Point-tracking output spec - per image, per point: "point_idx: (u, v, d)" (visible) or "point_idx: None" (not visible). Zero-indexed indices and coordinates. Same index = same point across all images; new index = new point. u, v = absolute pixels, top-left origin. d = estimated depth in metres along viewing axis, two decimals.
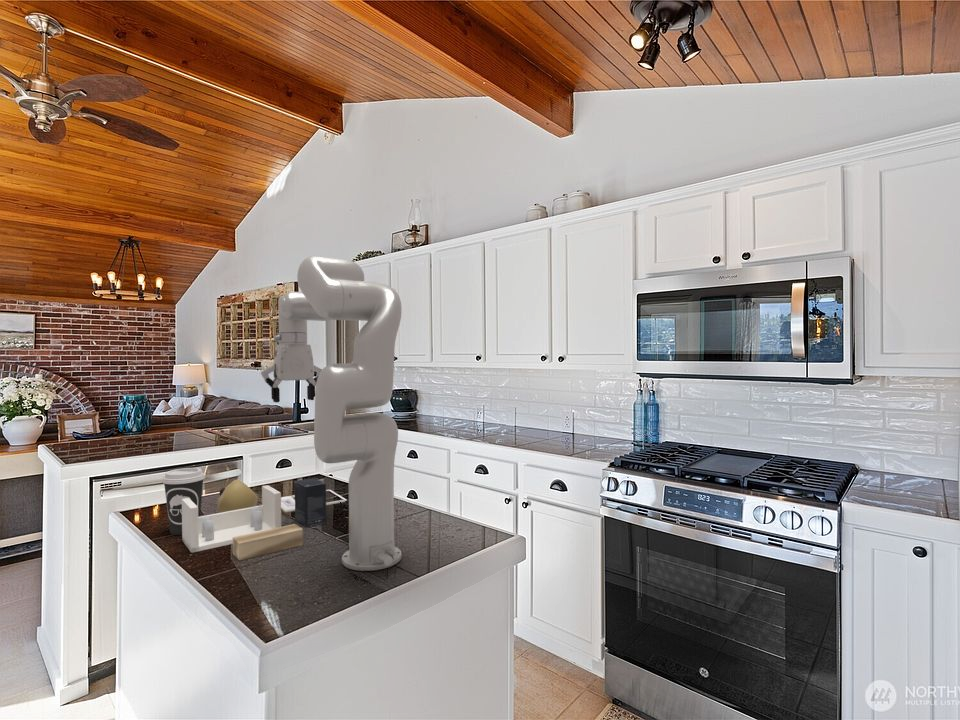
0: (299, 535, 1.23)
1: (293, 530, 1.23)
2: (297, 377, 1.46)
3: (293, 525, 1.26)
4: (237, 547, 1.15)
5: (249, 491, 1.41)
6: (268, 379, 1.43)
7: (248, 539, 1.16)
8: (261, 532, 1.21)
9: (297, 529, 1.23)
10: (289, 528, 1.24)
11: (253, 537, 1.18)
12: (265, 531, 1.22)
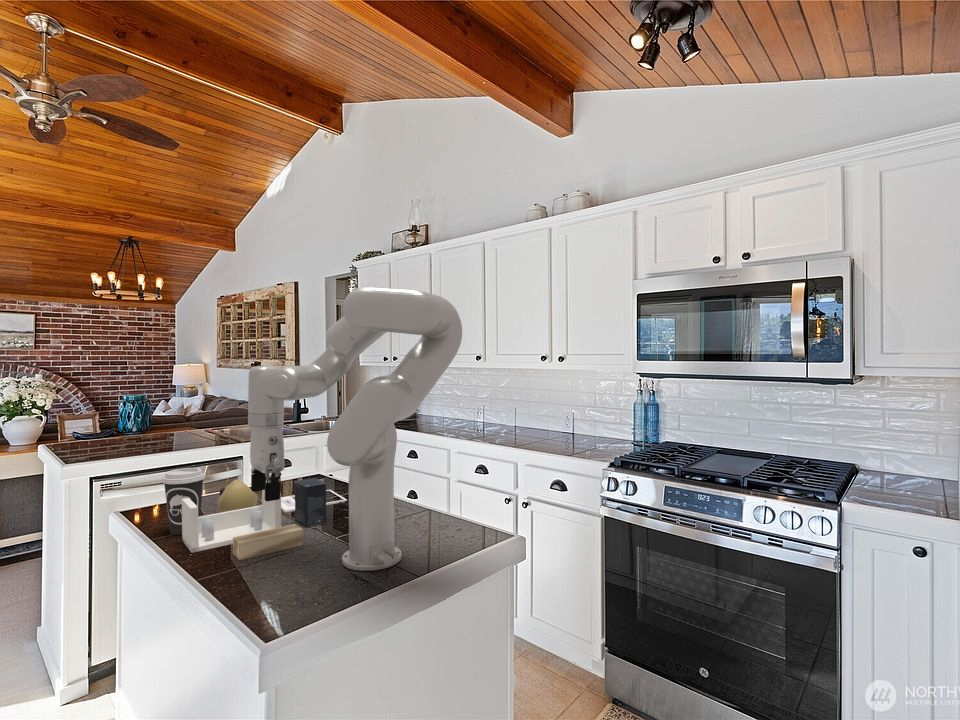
0: (299, 535, 1.23)
1: (294, 529, 1.23)
2: None
3: (293, 525, 1.26)
4: (237, 547, 1.15)
5: (249, 491, 1.41)
6: None
7: (248, 539, 1.16)
8: (261, 532, 1.21)
9: (297, 529, 1.23)
10: (290, 528, 1.24)
11: (253, 537, 1.18)
12: (265, 531, 1.22)
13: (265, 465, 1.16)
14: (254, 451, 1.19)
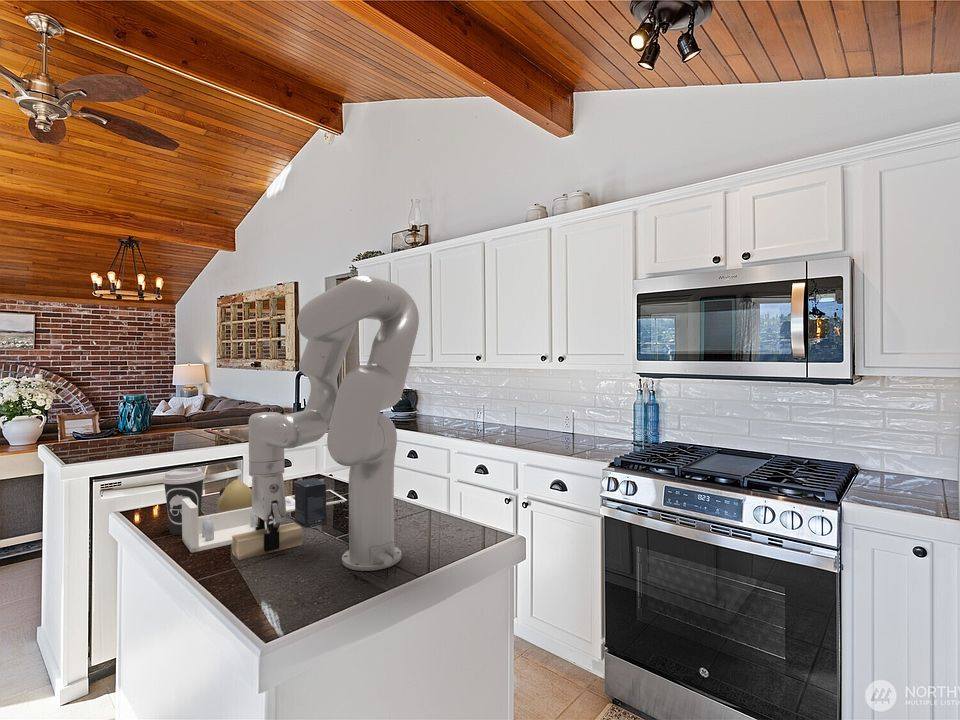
0: (298, 533, 1.23)
1: (293, 528, 1.23)
2: None
3: (293, 523, 1.26)
4: (237, 545, 1.15)
5: (249, 491, 1.41)
6: None
7: (247, 538, 1.16)
8: (261, 530, 1.21)
9: (296, 527, 1.23)
10: (289, 526, 1.24)
11: (252, 535, 1.18)
12: None
13: (267, 513, 1.16)
14: (255, 498, 1.19)
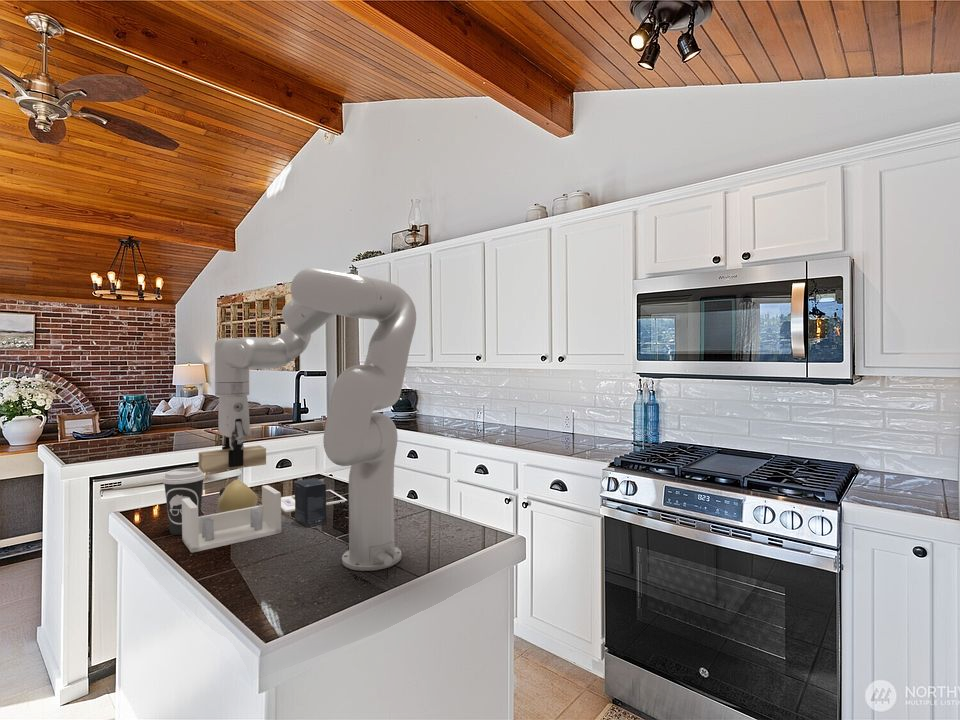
0: (262, 453, 1.30)
1: (257, 448, 1.30)
2: None
3: (257, 446, 1.33)
4: (202, 459, 1.23)
5: (249, 491, 1.41)
6: (242, 440, 1.25)
7: (212, 453, 1.24)
8: (226, 449, 1.29)
9: (261, 448, 1.31)
10: (254, 447, 1.31)
11: (217, 452, 1.26)
12: None
13: (231, 430, 1.23)
14: (221, 418, 1.26)
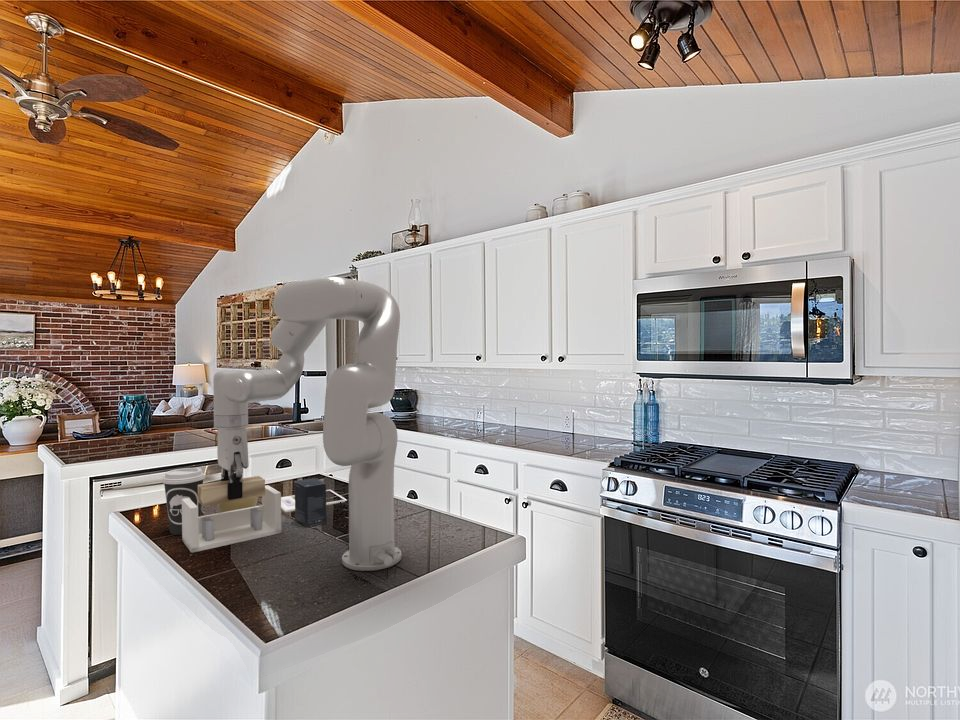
0: (261, 485, 1.31)
1: (256, 480, 1.31)
2: None
3: (256, 476, 1.34)
4: (201, 493, 1.23)
5: None
6: None
7: (211, 486, 1.24)
8: (225, 481, 1.29)
9: (259, 479, 1.31)
10: (253, 479, 1.32)
11: (216, 484, 1.26)
12: None
13: (229, 463, 1.24)
14: (220, 451, 1.27)
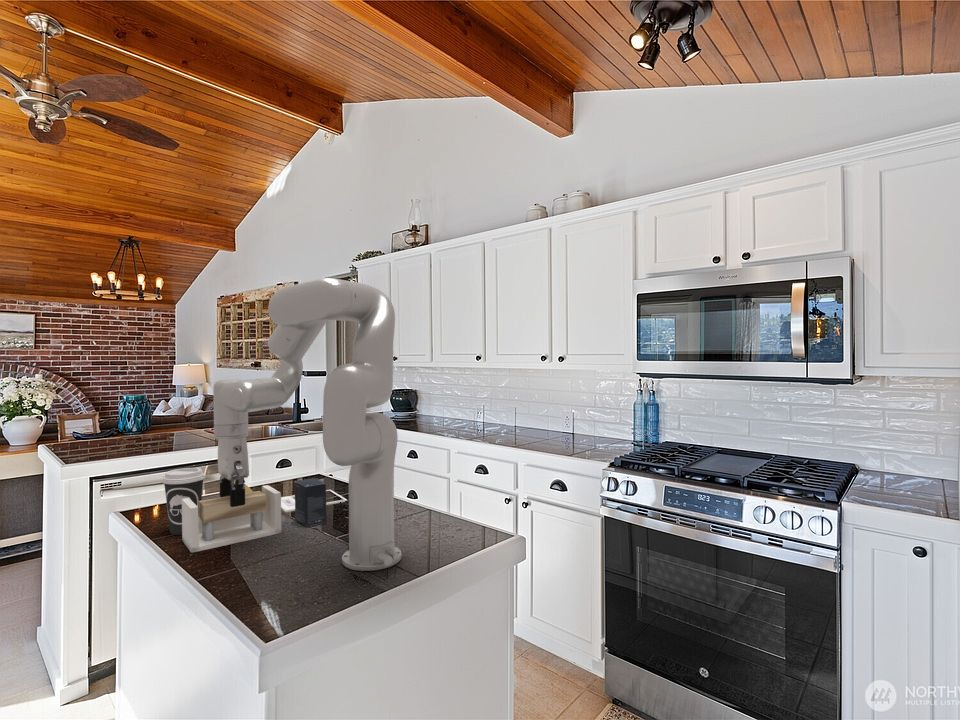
0: (262, 500, 1.31)
1: (257, 495, 1.31)
2: None
3: (257, 492, 1.34)
4: (202, 509, 1.23)
5: (249, 491, 1.41)
6: (244, 480, 1.24)
7: (212, 502, 1.24)
8: (226, 497, 1.29)
9: (260, 494, 1.31)
10: (253, 494, 1.32)
11: (217, 500, 1.26)
12: None
13: (230, 472, 1.24)
14: (220, 460, 1.27)
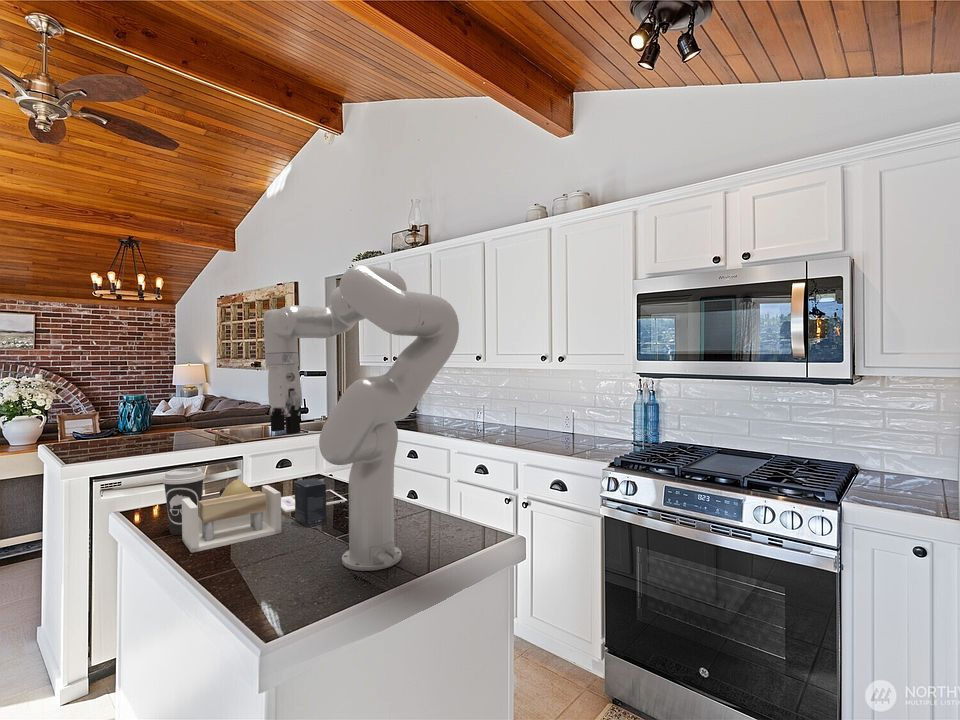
0: (262, 500, 1.31)
1: (257, 495, 1.31)
2: None
3: (257, 492, 1.34)
4: (202, 509, 1.23)
5: (249, 491, 1.41)
6: None
7: (212, 502, 1.24)
8: (226, 497, 1.29)
9: (260, 494, 1.31)
10: (253, 494, 1.32)
11: (217, 500, 1.26)
12: (230, 496, 1.30)
13: (284, 400, 1.23)
14: (273, 390, 1.26)
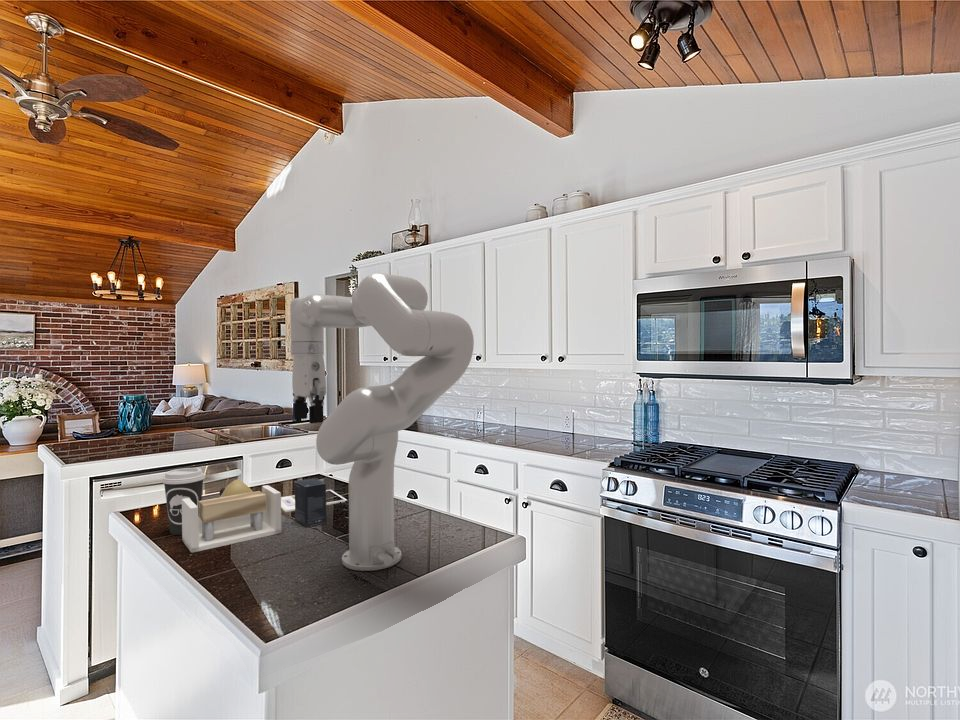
0: (262, 500, 1.31)
1: (257, 495, 1.31)
2: None
3: (257, 492, 1.34)
4: (202, 509, 1.23)
5: (249, 491, 1.41)
6: None
7: (212, 502, 1.24)
8: (226, 497, 1.29)
9: (260, 494, 1.31)
10: (253, 494, 1.32)
11: (217, 500, 1.26)
12: (230, 496, 1.30)
13: (309, 389, 1.22)
14: (297, 378, 1.26)
